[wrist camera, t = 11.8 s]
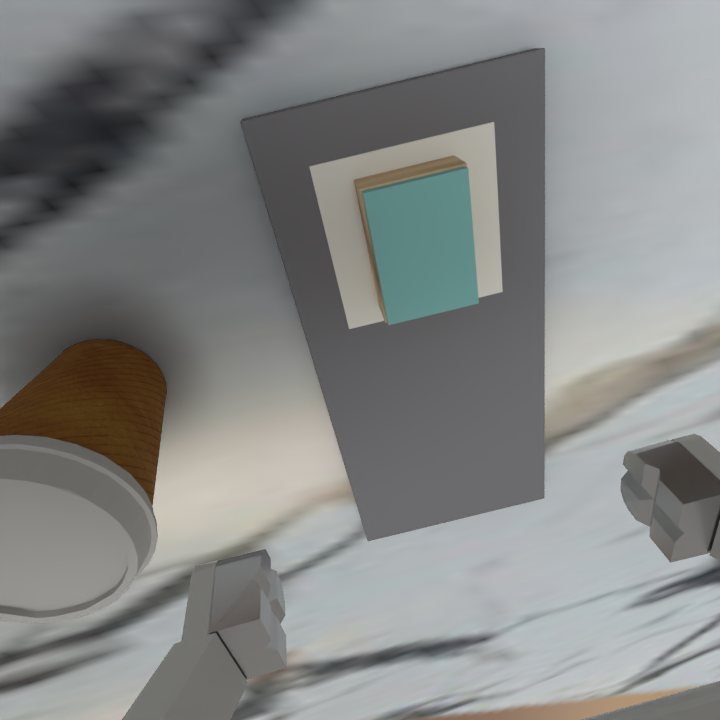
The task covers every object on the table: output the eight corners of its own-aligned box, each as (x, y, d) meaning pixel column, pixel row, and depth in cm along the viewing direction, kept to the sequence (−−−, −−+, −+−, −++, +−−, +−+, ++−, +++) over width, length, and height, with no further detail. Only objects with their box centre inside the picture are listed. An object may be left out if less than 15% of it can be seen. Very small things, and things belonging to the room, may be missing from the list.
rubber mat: (365, 530, 39) (367, 542, 38) (242, 119, 23) (240, 122, 22) (538, 488, 39) (544, 499, 38) (535, 48, 23) (545, 48, 22)
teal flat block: (353, 179, 24) (360, 191, 22) (454, 155, 24) (470, 165, 22) (379, 306, 28) (387, 327, 26) (466, 285, 28) (480, 304, 26)
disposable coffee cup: (-18, 373, 28) (-188, 555, 18) (105, 280, 26) (-6, 423, 16) (115, 469, 33) (40, 654, 23) (227, 395, 31) (200, 562, 21)
